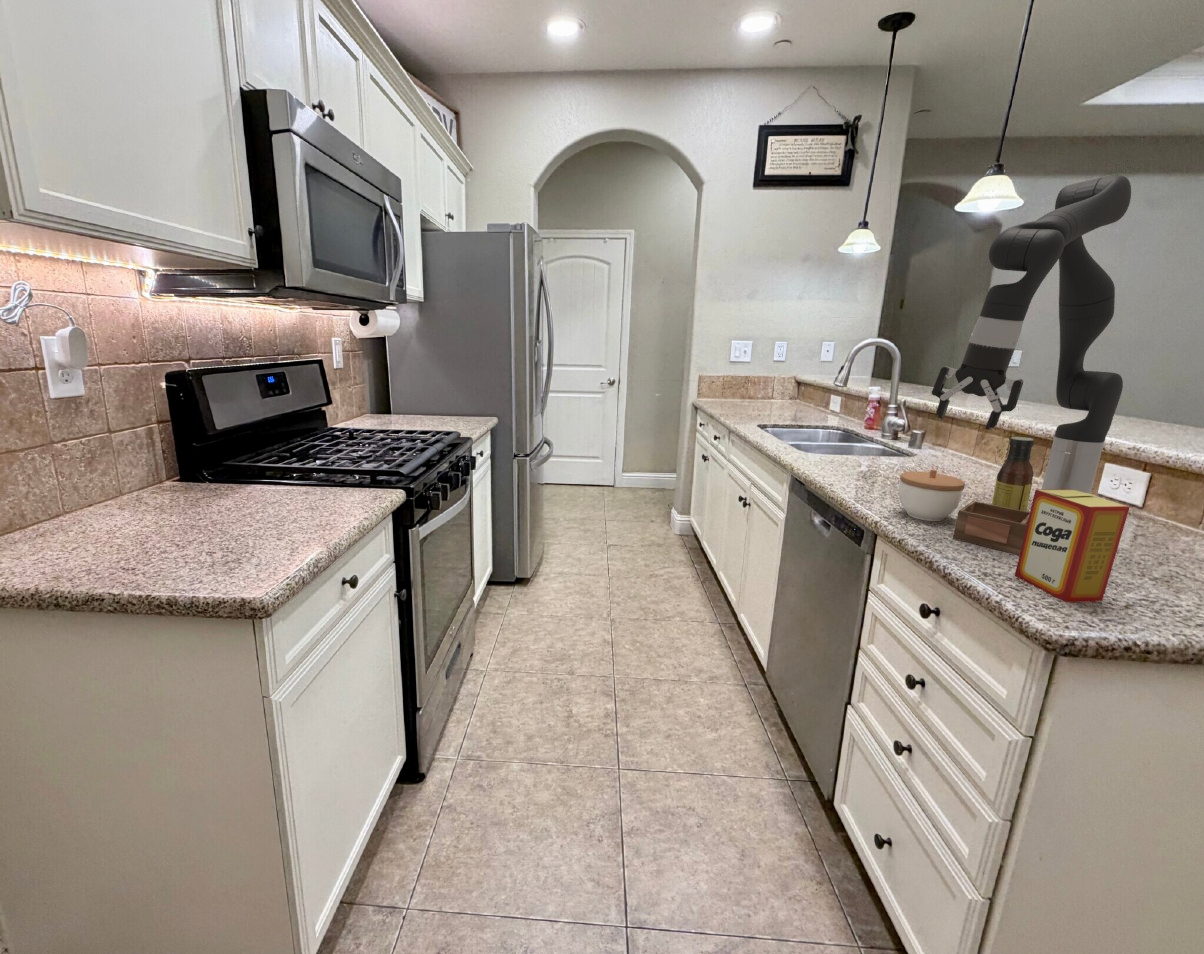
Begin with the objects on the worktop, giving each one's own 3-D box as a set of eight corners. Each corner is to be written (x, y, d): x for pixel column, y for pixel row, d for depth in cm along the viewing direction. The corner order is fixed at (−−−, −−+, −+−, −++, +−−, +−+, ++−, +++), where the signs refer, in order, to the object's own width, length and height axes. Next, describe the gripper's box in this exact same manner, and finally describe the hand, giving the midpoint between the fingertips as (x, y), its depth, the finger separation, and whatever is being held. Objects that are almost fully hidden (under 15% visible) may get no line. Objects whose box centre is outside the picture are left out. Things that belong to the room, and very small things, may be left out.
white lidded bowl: (938, 529, 116) (948, 479, 113) (883, 512, 127) (890, 466, 124) (968, 520, 123) (978, 473, 120) (912, 504, 133) (920, 461, 130)
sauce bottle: (1010, 523, 122) (1031, 436, 116) (1029, 533, 116) (1051, 441, 110) (980, 521, 122) (999, 434, 117) (996, 531, 116) (1017, 440, 111)
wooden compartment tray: (967, 526, 118) (972, 500, 117) (1092, 556, 104) (1101, 526, 102) (952, 538, 111) (958, 510, 109) (1085, 572, 96) (1093, 540, 95)
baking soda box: (1102, 601, 86) (1130, 504, 81) (1065, 602, 85) (1091, 504, 81) (1048, 575, 95) (1071, 487, 91) (1014, 575, 94) (1036, 487, 90)
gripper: (1040, 348, 102) (1008, 429, 108) (956, 335, 111) (931, 411, 117) (1033, 351, 97) (1000, 436, 103) (946, 337, 106) (920, 417, 112)
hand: (963, 423), depth 110 cm, fingers open, 8 cm apart
